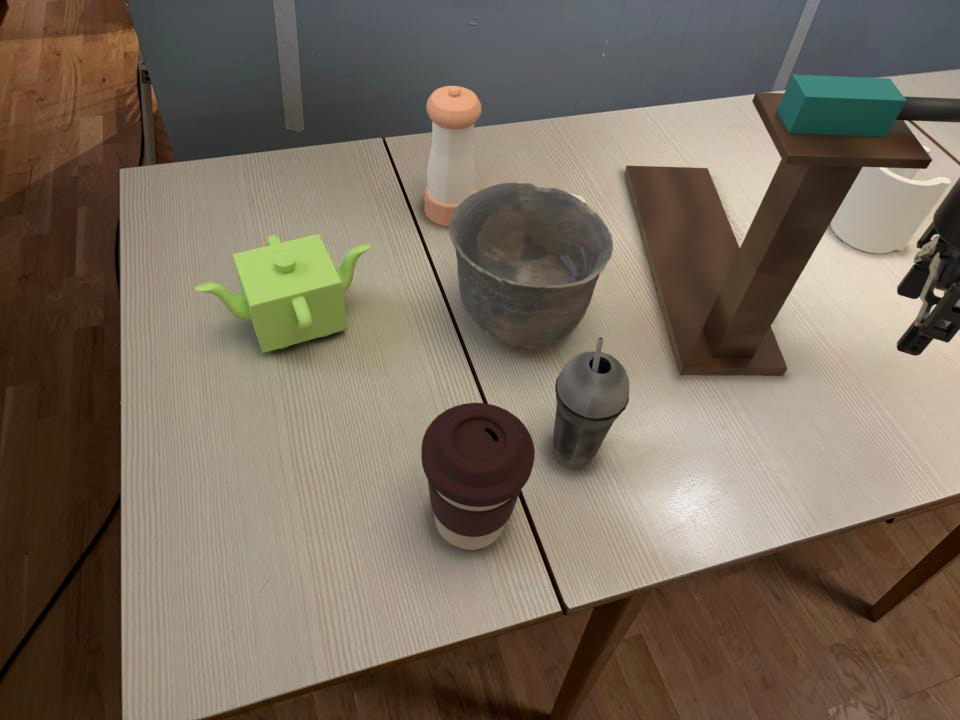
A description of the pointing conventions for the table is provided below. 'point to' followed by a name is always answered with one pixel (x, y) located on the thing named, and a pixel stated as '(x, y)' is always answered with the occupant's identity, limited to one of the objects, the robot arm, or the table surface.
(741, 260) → the headphone stand
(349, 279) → the teapot
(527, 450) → the coffee cup
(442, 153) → the pepper shaker
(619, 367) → the beverage cup
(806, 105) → the teal block with handle
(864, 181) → the white rounded piece
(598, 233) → the bowl
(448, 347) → the table surface
